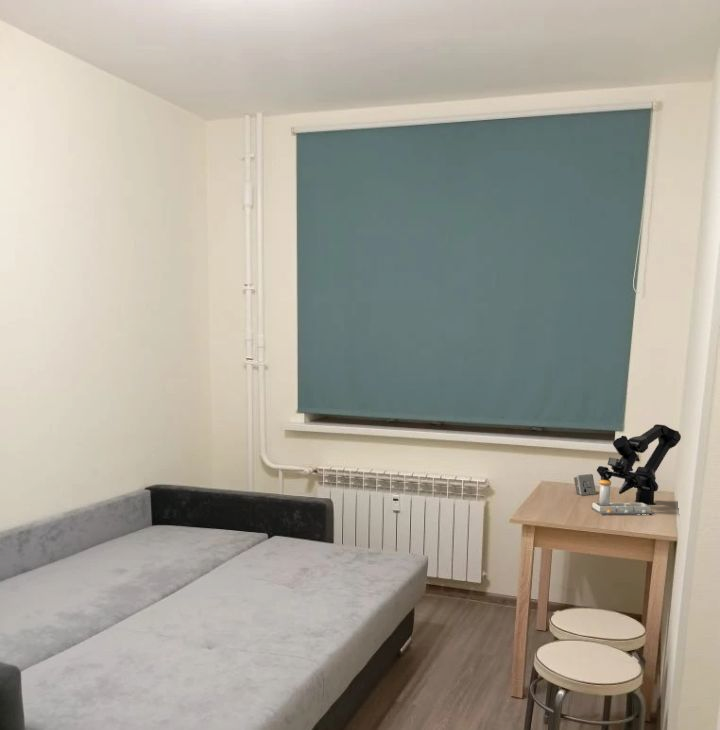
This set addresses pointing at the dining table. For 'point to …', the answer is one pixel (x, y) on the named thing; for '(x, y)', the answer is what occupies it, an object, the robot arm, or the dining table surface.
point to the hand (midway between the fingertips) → (609, 491)
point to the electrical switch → (585, 484)
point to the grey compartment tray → (622, 509)
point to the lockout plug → (604, 492)
